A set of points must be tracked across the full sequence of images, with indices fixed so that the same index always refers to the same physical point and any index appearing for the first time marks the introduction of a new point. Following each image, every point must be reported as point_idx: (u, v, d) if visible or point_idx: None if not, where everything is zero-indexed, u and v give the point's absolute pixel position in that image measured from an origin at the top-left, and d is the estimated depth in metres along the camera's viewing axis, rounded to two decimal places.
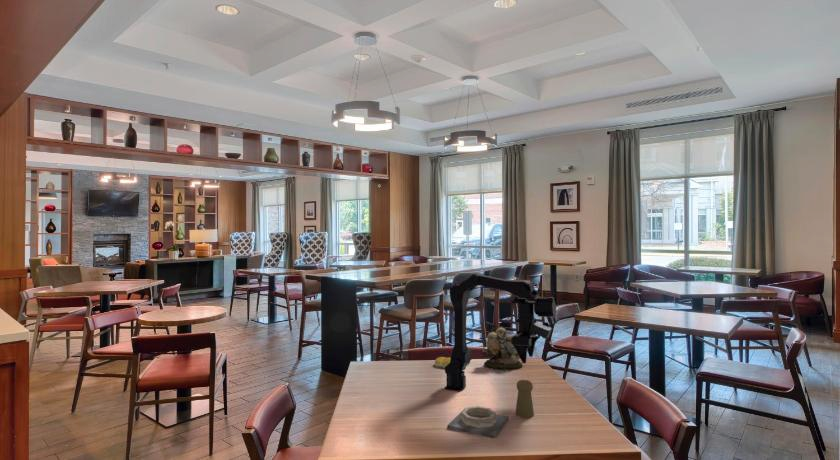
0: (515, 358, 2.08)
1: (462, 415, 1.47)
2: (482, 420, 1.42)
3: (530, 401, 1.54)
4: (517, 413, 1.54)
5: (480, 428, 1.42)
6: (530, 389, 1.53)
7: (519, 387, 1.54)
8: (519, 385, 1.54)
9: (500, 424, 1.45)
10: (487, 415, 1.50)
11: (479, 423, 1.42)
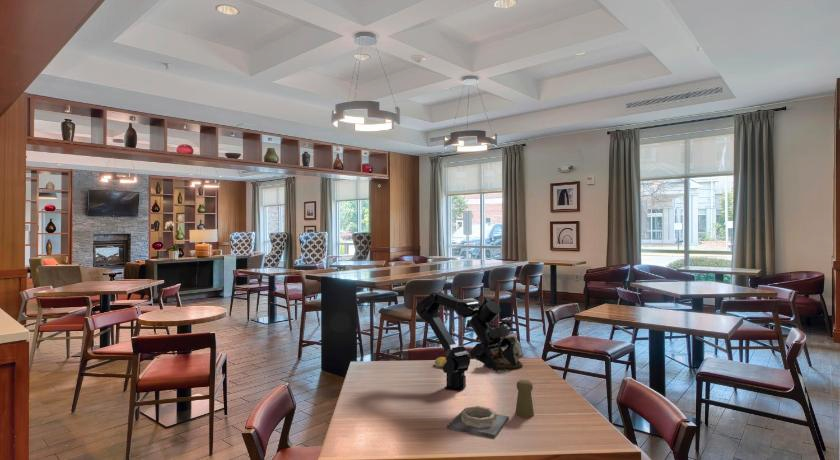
0: (515, 358, 2.08)
1: (462, 415, 1.47)
2: (482, 420, 1.42)
3: (530, 401, 1.54)
4: (517, 413, 1.54)
5: (480, 428, 1.42)
6: (530, 389, 1.53)
7: (519, 387, 1.54)
8: (519, 385, 1.54)
9: (500, 424, 1.45)
10: (487, 415, 1.50)
11: (479, 423, 1.42)
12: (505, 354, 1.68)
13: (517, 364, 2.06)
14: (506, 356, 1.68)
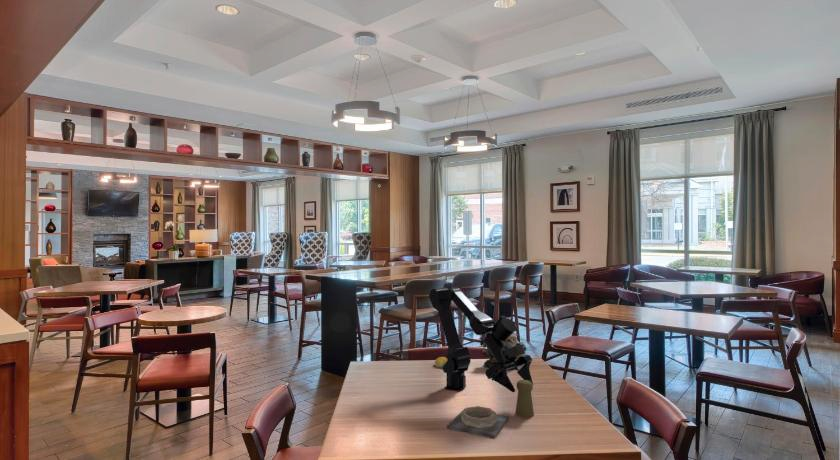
0: None
1: (462, 415, 1.47)
2: (482, 420, 1.42)
3: (530, 401, 1.54)
4: (517, 413, 1.54)
5: (480, 428, 1.42)
6: (530, 389, 1.53)
7: (519, 388, 1.54)
8: (519, 385, 1.54)
9: (500, 424, 1.45)
10: (487, 415, 1.50)
11: (479, 423, 1.42)
12: (521, 373, 1.63)
13: None
14: (522, 375, 1.62)
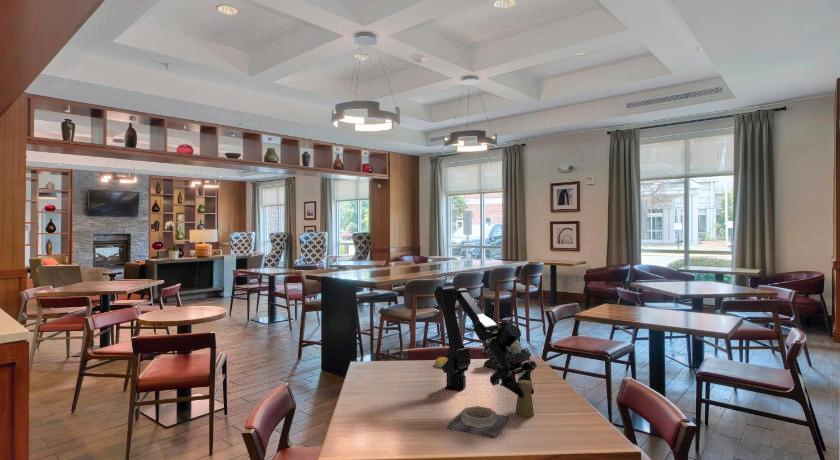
0: None
1: (462, 415, 1.47)
2: (482, 420, 1.42)
3: (530, 401, 1.54)
4: (517, 413, 1.54)
5: (480, 428, 1.42)
6: (530, 389, 1.53)
7: None
8: (519, 385, 1.54)
9: (500, 424, 1.45)
10: (487, 415, 1.50)
11: (479, 423, 1.42)
12: None
13: None
14: None
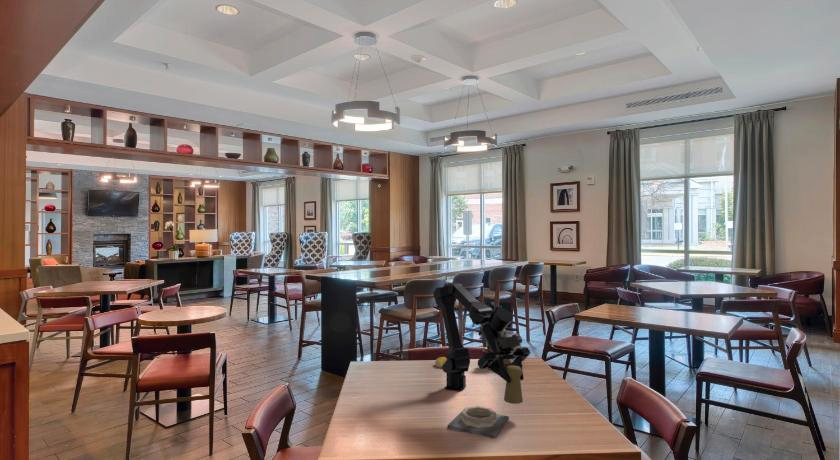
0: None
1: (462, 415, 1.47)
2: (482, 420, 1.42)
3: (518, 387, 1.50)
4: (505, 398, 1.52)
5: (480, 428, 1.42)
6: (518, 375, 1.50)
7: None
8: (507, 370, 1.51)
9: (500, 424, 1.45)
10: (487, 415, 1.50)
11: (479, 423, 1.42)
12: None
13: None
14: None
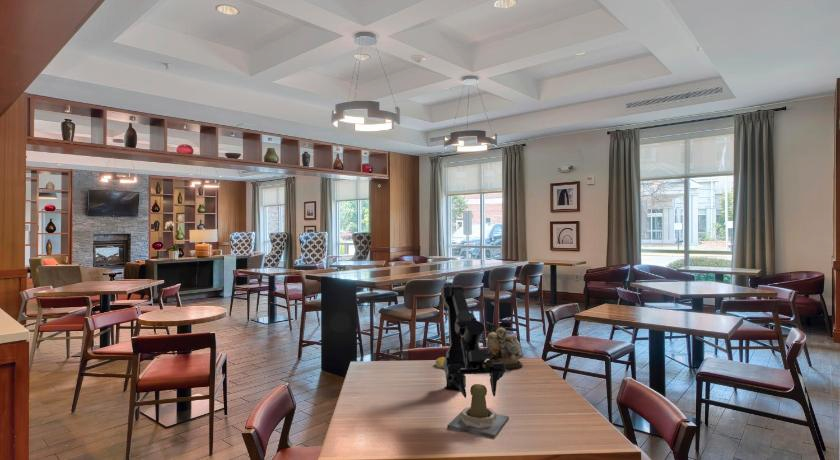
0: (515, 358, 2.08)
1: (462, 415, 1.47)
2: (482, 420, 1.42)
3: (480, 407, 1.45)
4: None
5: (480, 428, 1.42)
6: (480, 394, 1.45)
7: (470, 391, 1.47)
8: None
9: (500, 424, 1.45)
10: None
11: (479, 423, 1.42)
12: (491, 381, 1.52)
13: (517, 364, 2.06)
14: (491, 383, 1.51)
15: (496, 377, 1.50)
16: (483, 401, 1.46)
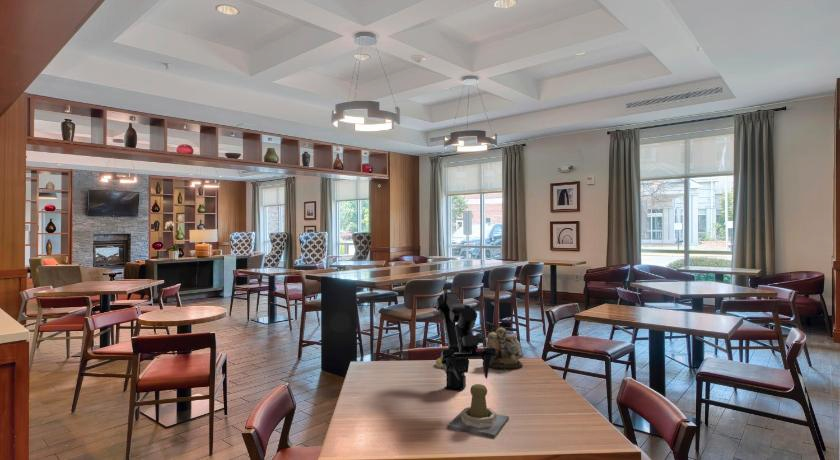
0: (515, 358, 2.08)
1: (462, 415, 1.47)
2: (482, 420, 1.42)
3: (480, 407, 1.45)
4: None
5: (480, 428, 1.42)
6: (480, 394, 1.45)
7: (470, 391, 1.47)
8: (471, 388, 1.47)
9: (500, 424, 1.45)
10: None
11: (479, 423, 1.42)
12: (483, 364, 1.61)
13: (517, 364, 2.06)
14: (483, 367, 1.60)
15: (488, 361, 1.59)
16: (483, 401, 1.46)
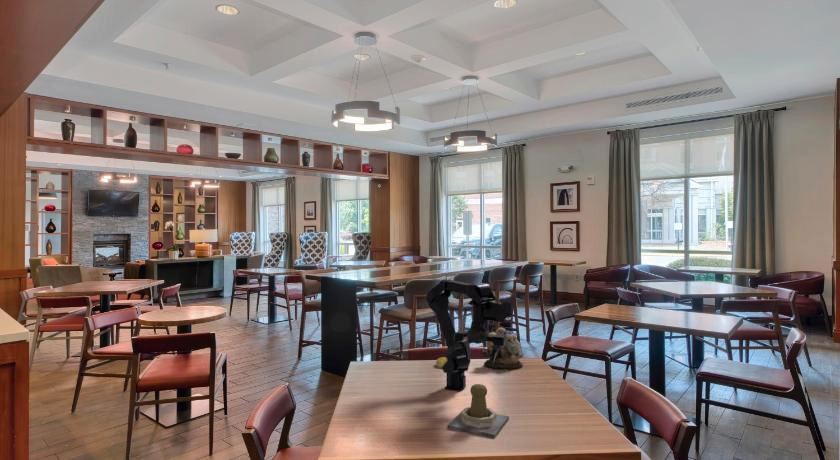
0: (515, 358, 2.08)
1: (462, 415, 1.47)
2: (482, 420, 1.42)
3: (480, 407, 1.46)
4: None
5: (480, 428, 1.42)
6: (480, 394, 1.45)
7: (470, 391, 1.47)
8: (471, 388, 1.47)
9: (500, 424, 1.45)
10: None
11: (479, 423, 1.42)
12: None
13: (517, 364, 2.06)
14: None
15: (495, 350, 1.66)
16: (483, 401, 1.46)
